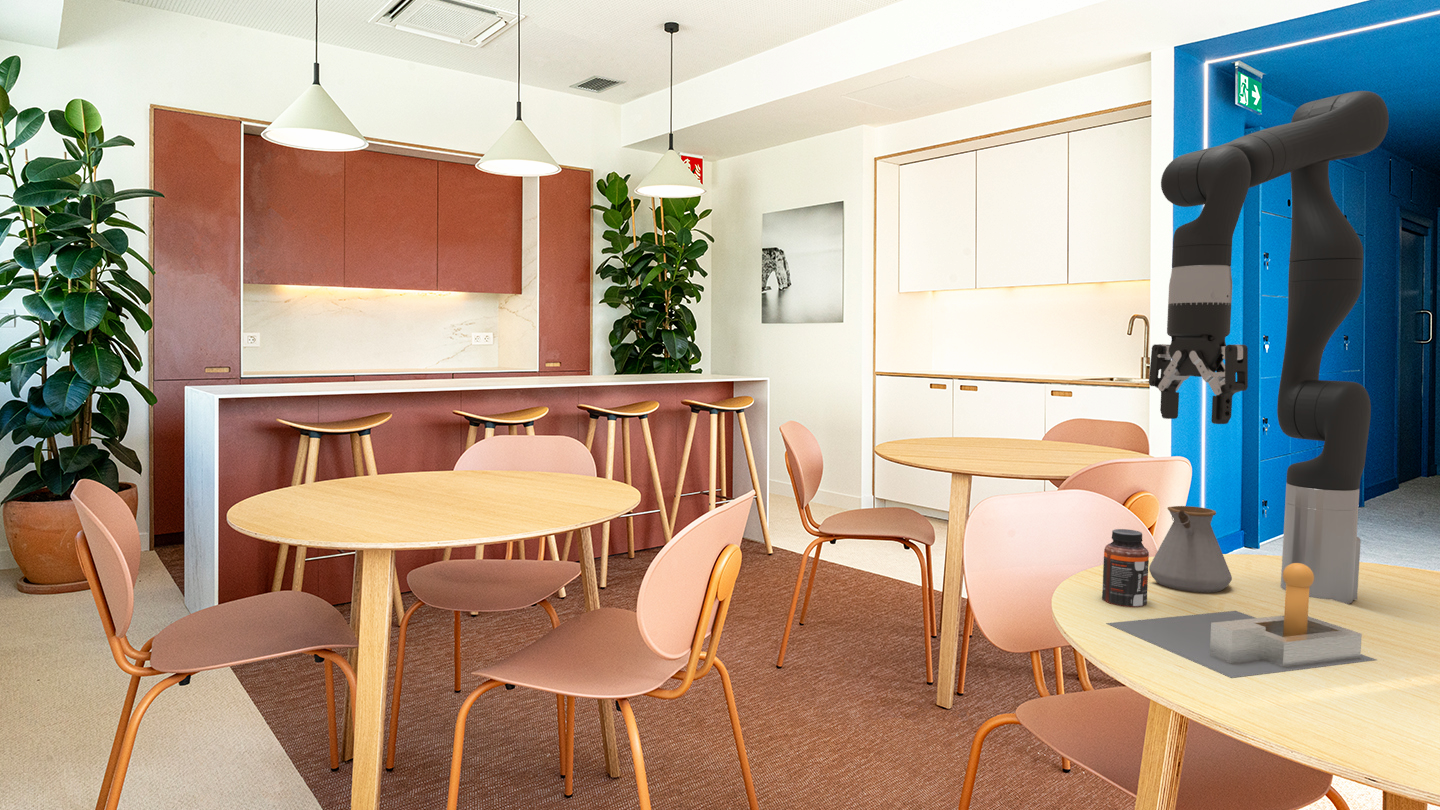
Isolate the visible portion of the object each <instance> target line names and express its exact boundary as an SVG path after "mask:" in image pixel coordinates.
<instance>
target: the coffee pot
mask: <svg viewBox="0 0 1440 810" xmlns="http://www.w3.org/2000/svg"><path fill="white" fill-rule="evenodd" d="M1167 510H1168V511H1169V513H1170V515H1171V519H1172V523H1171V525H1170V527H1169V528H1168V529H1169V530H1167V533H1166V535H1165V537H1164V539H1163V540H1162V542H1161V544H1160V546H1159V547H1158V550H1157V551H1156V553H1155V554H1154V557H1153V559H1152V561H1151V562H1150V563H1149V566H1148V572H1149V573H1150V576H1151V577H1152V578H1153V580H1154V581H1155V582H1156V583H1157V584H1159V585H1162V586H1163V587H1167V588H1170V589H1174V590H1179V591H1183V592H1191V593H1203V594H1204V593H1219V592H1222V591H1223V590H1224V589H1226V588H1227V587H1228V586H1229V585H1230V584H1231V581H1232V580H1233V578H1232V576H1233V575H1232V574H1231V571H1230V569H1229V566H1228V563H1227V561H1226V559H1225V556H1224V555H1223V552H1222V549H1221V547H1220V545H1219V542H1218V539H1217V537H1216V535H1215V532H1214V530H1213V527H1212V525H1211V523H1212V521H1213V517H1214V516H1216V515H1217V512H1216V510H1214V509H1210V508H1206V507H1199V506H1192V505H1191V506H1189V505H1187V506H1186V505H1176V506H1175V505H1173V506H1167Z"/></svg>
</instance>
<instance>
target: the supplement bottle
mask: <svg viewBox="0 0 1440 810" xmlns="http://www.w3.org/2000/svg"><path fill="white" fill-rule="evenodd" d="M1111 540H1112V541H1111V542H1110V543H1108V544H1106V545H1105V547H1104V551H1103V565H1102V566H1103V567H1102V568H1103V570H1102V592H1101V593H1102V594H1101V595H1102V596H1101V598H1102V601H1103V602H1105V603H1107V604H1110V605H1112V606H1113V605H1114V606H1118V607H1123V608H1124V607H1125V608H1142V607H1146V606H1147V604H1148V584H1149V583H1148V581H1149V566H1150V562H1149V558H1150V557H1149V556H1150V555H1149V554H1150V552H1149V550H1148V548H1146V547H1145V546H1144V544H1143V533H1142V531H1139V530H1135V529H1126V528H1117V529H1116V528H1115V529H1112V531H1111Z"/></svg>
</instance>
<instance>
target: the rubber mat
mask: <svg viewBox="0 0 1440 810" xmlns="http://www.w3.org/2000/svg"><path fill="white" fill-rule="evenodd" d="M1254 618H1256V617H1255V616H1252V615H1249V614H1246V613H1244V612H1240V611H1237V610H1229V611H1221V612H1220V611H1219V612H1209V613H1208V612H1207V613H1199V614H1187V615H1177V616H1169V617H1158V618H1156V617H1155V618H1146V619H1145V618H1144V619H1135V620H1127V621H1126V620H1125V621H1116V622H1106V623H1105V624H1106V625H1107V626H1108V625H1109V626H1110V627H1113V628H1115V629H1117V630H1120V631H1122V632H1124V633H1126V634H1129V635H1131V636H1134V637H1135V638H1138V639H1140V640H1143V641H1145V642H1147V643H1149V644H1152V645H1154V646H1157V647H1159V648H1161V649H1163V650H1166V651H1168V652H1171V653H1172V654H1175V655H1177V656H1179V657H1182V658H1184V659H1187V660H1189V661H1191V662H1194V663H1196V664H1198V665H1200V666H1201V667H1205V668H1207V669H1209V670H1212V671H1214V672H1216V673H1218V674H1220V675H1223V676H1226V677H1228V678H1230V679H1237V678H1244V677H1245V678H1246V677H1253V676H1261V675H1269V674H1275V673H1285V672H1292V671H1301V670H1308V669H1316V668H1326V667H1332V666H1340V665H1348V664H1357V663H1364V662H1372V661H1373V662H1374V661H1378V659H1377V658H1374V657H1370V656H1367V655H1365V654H1362V653H1360V658H1356V659H1348V660H1340V661H1332V662H1324V663H1316V664H1308V665H1299V666H1291V667H1280V666H1278V665H1275V664H1273V663H1270V662H1267V661H1265V660H1260V661H1252V662H1244V663H1235V664H1229V663H1227V662H1225V661H1222V660H1220V659H1217V658H1215V657H1213V656H1210V638H1211V623H1214V622H1224V621H1234V620H1244V619H1254Z"/></svg>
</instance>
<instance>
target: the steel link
mask: <svg viewBox="0 0 1440 810" xmlns="http://www.w3.org/2000/svg"><path fill="white" fill-rule="evenodd" d="M1283 630H1284V615H1276V616H1267V617H1255V618H1254V619H1244V620H1234V621H1224V622H1214V623H1211V638H1210V656H1213V657H1215V658H1217V659H1220V660H1222V661H1225V662H1227V663H1229V664H1235V663H1244V662H1252V661H1260V660H1265V661H1267V662H1270V663H1273V664H1275V665H1278V666H1280V667H1291V666H1299V665H1308V664H1316V663H1324V662H1332V661H1340V660H1348V659H1356V658H1360V654H1362V653H1361V652H1362V635H1363V633H1361V632H1359V631H1355V630H1352V629H1349V628H1345V627H1342V626H1339V625H1337V624H1333V623H1330V622H1327V621H1324V620H1321V619H1317V618H1316V617H1315V618H1314V617H1312V616H1309V615H1308V623H1307V634H1305V635H1296V636H1287V637H1283Z"/></svg>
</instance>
